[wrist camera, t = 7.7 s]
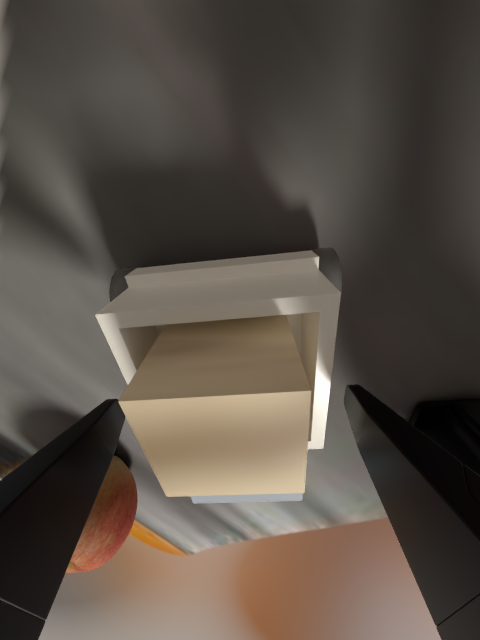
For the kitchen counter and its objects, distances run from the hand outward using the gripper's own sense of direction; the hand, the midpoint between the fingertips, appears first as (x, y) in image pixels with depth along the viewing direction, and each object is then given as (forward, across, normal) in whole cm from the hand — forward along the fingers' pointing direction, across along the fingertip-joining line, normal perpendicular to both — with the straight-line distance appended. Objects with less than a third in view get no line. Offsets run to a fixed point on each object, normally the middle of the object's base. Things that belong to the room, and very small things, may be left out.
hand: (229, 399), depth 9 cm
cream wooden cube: (+3, 0, 0) cm, 3 cm away
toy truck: (+6, 0, +2) cm, 6 cm away
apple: (+6, +14, +14) cm, 20 cm away
